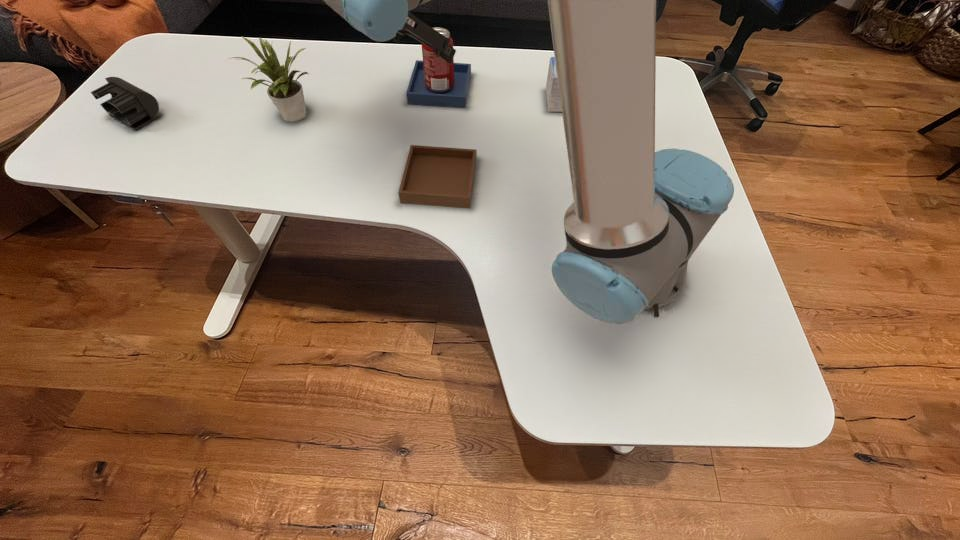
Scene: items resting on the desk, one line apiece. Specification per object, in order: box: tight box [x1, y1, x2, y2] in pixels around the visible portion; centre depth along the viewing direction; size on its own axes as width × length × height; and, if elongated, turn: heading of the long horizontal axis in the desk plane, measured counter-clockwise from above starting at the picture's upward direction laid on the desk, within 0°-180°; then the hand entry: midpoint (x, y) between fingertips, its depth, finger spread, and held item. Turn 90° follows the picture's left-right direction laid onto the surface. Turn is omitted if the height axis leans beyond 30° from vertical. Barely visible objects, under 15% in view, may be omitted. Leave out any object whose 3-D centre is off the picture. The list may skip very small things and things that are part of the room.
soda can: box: [420, 26, 455, 92], centre depth 96 cm, size 7×7×12 cm
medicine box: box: [545, 56, 562, 113], centre depth 96 cm, size 8×4×9 cm, turn 179°
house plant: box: [227, 36, 310, 123], centre depth 89 cm, size 14×14×16 cm
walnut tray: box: [397, 144, 477, 209], centre depth 84 cm, size 13×13×3 cm
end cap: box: [90, 76, 160, 132], centre depth 92 cm, size 10×7×7 cm
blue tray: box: [405, 59, 472, 109], centre depth 101 cm, size 13×13×3 cm
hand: (425, 46), depth 90 cm, fingers open, 13 cm apart
